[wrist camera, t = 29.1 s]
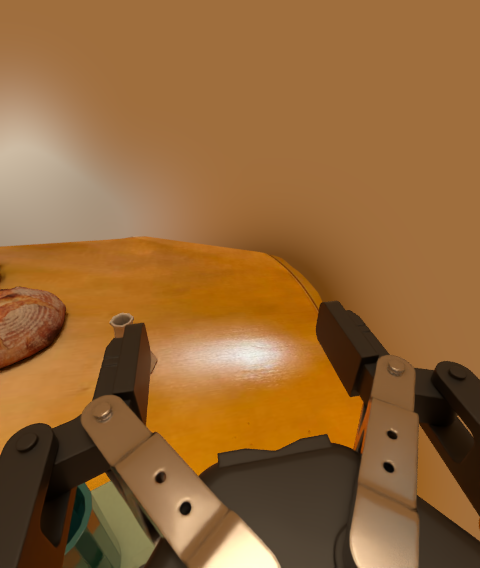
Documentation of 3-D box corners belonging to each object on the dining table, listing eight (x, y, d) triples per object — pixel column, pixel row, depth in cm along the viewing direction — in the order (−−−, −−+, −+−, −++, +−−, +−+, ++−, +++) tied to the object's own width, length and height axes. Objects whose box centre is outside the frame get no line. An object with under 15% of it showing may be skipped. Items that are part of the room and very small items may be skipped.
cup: (134, 545, 30) (108, 492, 24) (90, 630, 26) (45, 591, 20) (85, 521, 32) (50, 466, 26) (36, 596, 27) (-21, 551, 21)
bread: (-69, 382, 50) (-112, 336, 44) (12, 307, 66) (-12, 267, 61) (27, 381, 49) (-4, 333, 43) (85, 305, 65) (67, 264, 60)
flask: (101, 374, 50) (84, 327, 44) (132, 345, 55) (120, 300, 50) (136, 390, 47) (122, 342, 42) (165, 358, 53) (156, 312, 47)
